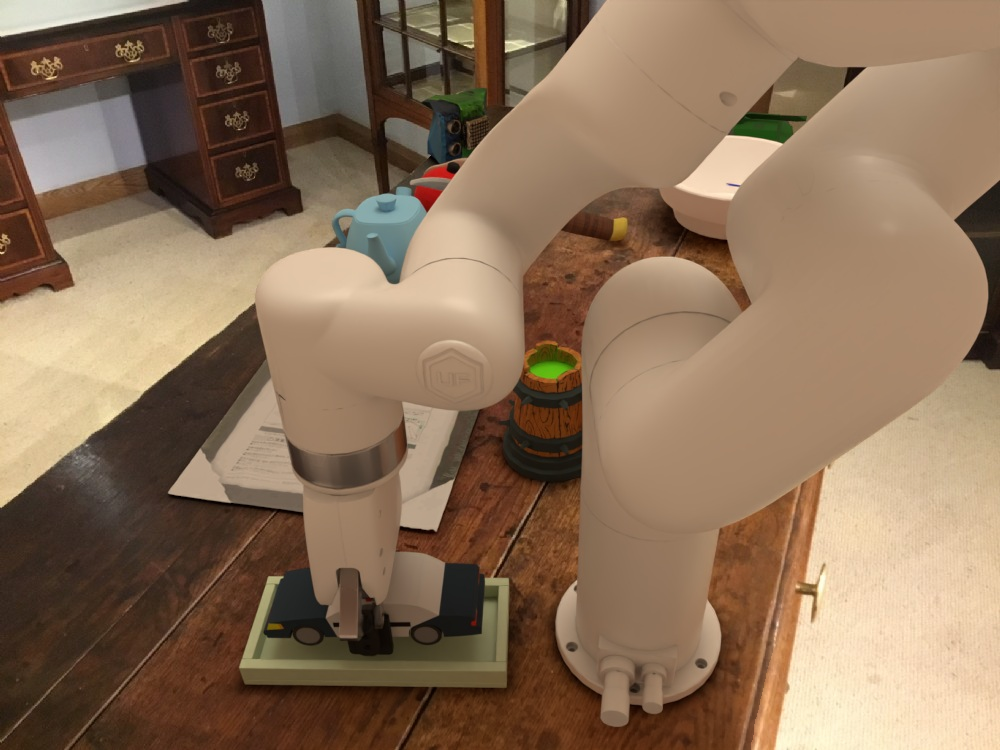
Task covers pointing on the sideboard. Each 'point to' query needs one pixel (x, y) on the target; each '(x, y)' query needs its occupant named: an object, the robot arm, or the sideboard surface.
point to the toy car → (388, 602)
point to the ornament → (429, 194)
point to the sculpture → (457, 124)
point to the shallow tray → (406, 666)
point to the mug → (546, 415)
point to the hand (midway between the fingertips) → (378, 616)
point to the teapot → (382, 229)
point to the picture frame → (267, 466)
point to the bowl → (716, 184)
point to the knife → (577, 225)
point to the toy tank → (766, 126)
